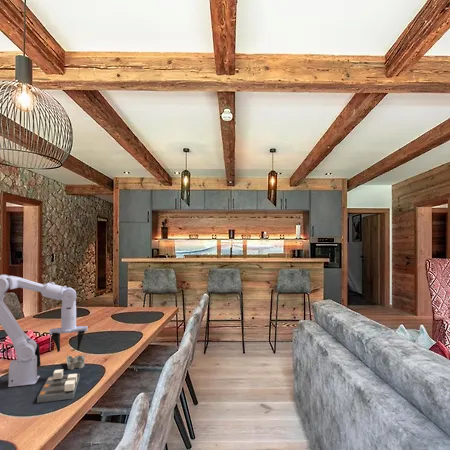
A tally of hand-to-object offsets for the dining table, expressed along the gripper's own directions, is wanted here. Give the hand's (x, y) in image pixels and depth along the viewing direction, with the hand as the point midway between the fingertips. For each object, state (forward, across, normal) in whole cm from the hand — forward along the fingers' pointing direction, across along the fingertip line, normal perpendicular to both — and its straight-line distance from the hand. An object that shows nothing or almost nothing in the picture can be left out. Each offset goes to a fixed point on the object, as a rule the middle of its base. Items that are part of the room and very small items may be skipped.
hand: (68, 350), depth 147 cm
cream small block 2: (+8, +3, -20) cm, 22 cm away
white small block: (+8, -3, -7) cm, 11 cm away
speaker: (+10, -18, +14) cm, 25 cm away
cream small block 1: (+8, +3, -14) cm, 16 cm away
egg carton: (+11, +1, +12) cm, 17 cm away
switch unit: (+10, -1, -14) cm, 17 cm away
